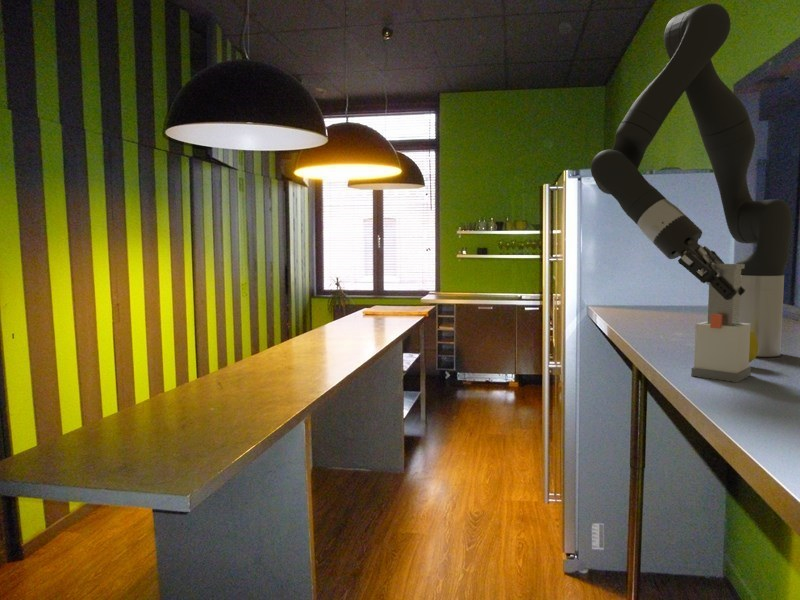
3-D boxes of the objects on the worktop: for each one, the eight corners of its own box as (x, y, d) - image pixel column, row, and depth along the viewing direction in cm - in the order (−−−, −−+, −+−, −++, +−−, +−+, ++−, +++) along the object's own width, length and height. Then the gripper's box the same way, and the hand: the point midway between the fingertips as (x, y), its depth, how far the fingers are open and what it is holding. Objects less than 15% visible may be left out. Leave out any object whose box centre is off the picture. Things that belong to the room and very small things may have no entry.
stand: (706, 369, 114) (708, 309, 113) (750, 375, 109) (753, 312, 108) (690, 376, 108) (693, 313, 107) (736, 382, 103) (739, 316, 102)
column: (711, 353, 112) (715, 263, 110) (740, 357, 108) (744, 264, 107) (703, 357, 108) (706, 264, 107) (732, 360, 105) (736, 264, 104)
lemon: (755, 370, 113) (757, 328, 113) (722, 367, 117) (724, 326, 116) (759, 366, 118) (761, 325, 117) (727, 362, 121) (729, 323, 120)
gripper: (669, 212, 106) (742, 283, 99) (697, 215, 117) (765, 279, 109) (638, 242, 111) (706, 313, 103) (668, 243, 121) (732, 307, 113)
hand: (736, 295), depth 106 cm, fingers closed on column, 4 cm apart
